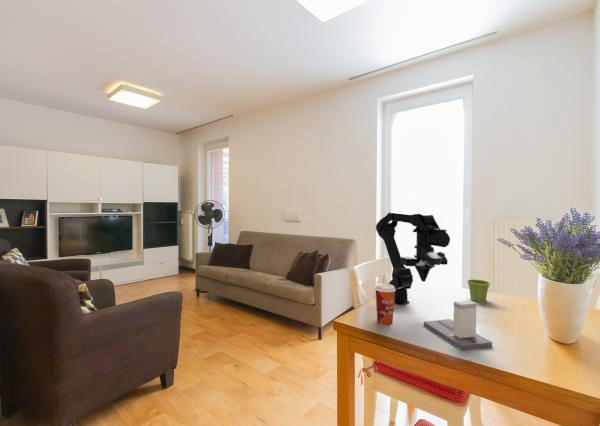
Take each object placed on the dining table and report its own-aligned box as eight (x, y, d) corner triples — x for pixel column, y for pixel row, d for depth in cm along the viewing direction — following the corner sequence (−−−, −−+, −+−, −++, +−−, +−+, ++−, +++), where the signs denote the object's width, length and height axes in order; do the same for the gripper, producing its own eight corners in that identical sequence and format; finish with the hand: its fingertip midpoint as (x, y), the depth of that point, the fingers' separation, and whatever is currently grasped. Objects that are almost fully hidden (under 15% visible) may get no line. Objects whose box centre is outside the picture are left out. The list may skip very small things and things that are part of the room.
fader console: (423, 325, 109) (423, 321, 109) (449, 322, 112) (449, 318, 112) (462, 350, 91) (462, 345, 91) (491, 346, 93) (492, 341, 93)
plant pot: (463, 296, 144) (464, 278, 144) (485, 297, 142) (485, 279, 142) (470, 302, 135) (471, 283, 134) (493, 304, 133) (494, 284, 132)
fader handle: (453, 334, 98) (453, 301, 98) (468, 332, 99) (469, 300, 99) (460, 338, 95) (460, 304, 95) (475, 336, 96) (476, 303, 96)
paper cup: (384, 327, 108) (384, 289, 107) (370, 320, 114) (370, 284, 114) (400, 323, 111) (400, 286, 111) (385, 316, 118) (385, 282, 117)
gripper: (415, 247, 112) (414, 288, 112) (457, 246, 116) (457, 285, 116) (399, 243, 123) (398, 280, 123) (438, 242, 127) (437, 278, 127)
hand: (423, 281), depth 122 cm, fingers closed
